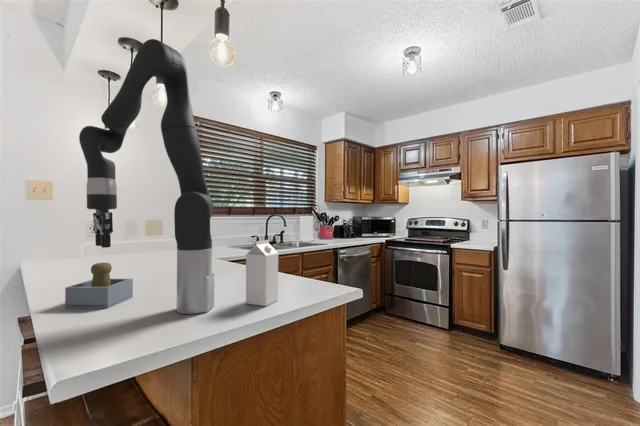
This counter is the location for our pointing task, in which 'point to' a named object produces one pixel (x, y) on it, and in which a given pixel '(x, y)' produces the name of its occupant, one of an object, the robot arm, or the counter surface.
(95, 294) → the crate
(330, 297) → the counter surface
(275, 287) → the milk carton
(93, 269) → the cork
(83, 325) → the counter surface
